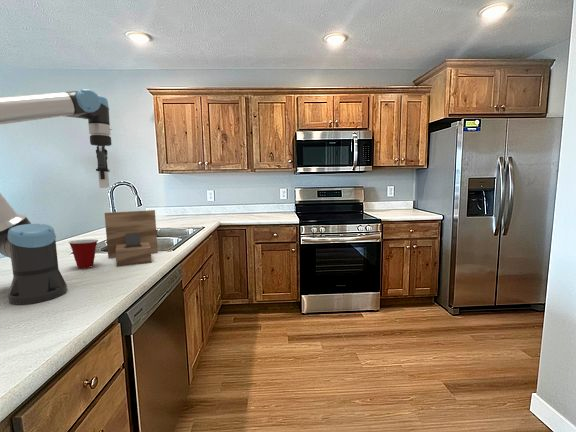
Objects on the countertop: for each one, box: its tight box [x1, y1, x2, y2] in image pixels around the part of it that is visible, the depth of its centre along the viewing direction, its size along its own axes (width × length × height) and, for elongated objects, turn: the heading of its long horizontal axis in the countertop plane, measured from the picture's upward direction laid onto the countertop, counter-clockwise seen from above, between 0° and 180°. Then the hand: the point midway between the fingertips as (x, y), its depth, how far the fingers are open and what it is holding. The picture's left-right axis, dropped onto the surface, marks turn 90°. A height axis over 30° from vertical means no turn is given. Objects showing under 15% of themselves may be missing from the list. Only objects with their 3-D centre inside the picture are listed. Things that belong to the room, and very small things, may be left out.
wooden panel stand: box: [104, 209, 158, 268], centre depth 145 cm, size 20×22×22 cm
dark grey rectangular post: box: [125, 233, 141, 248], centre depth 143 cm, size 3×6×12 cm, turn 117°
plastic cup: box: [68, 238, 99, 270], centre depth 134 cm, size 11×11×12 cm
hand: (104, 187), depth 129 cm, fingers open, 13 cm apart
